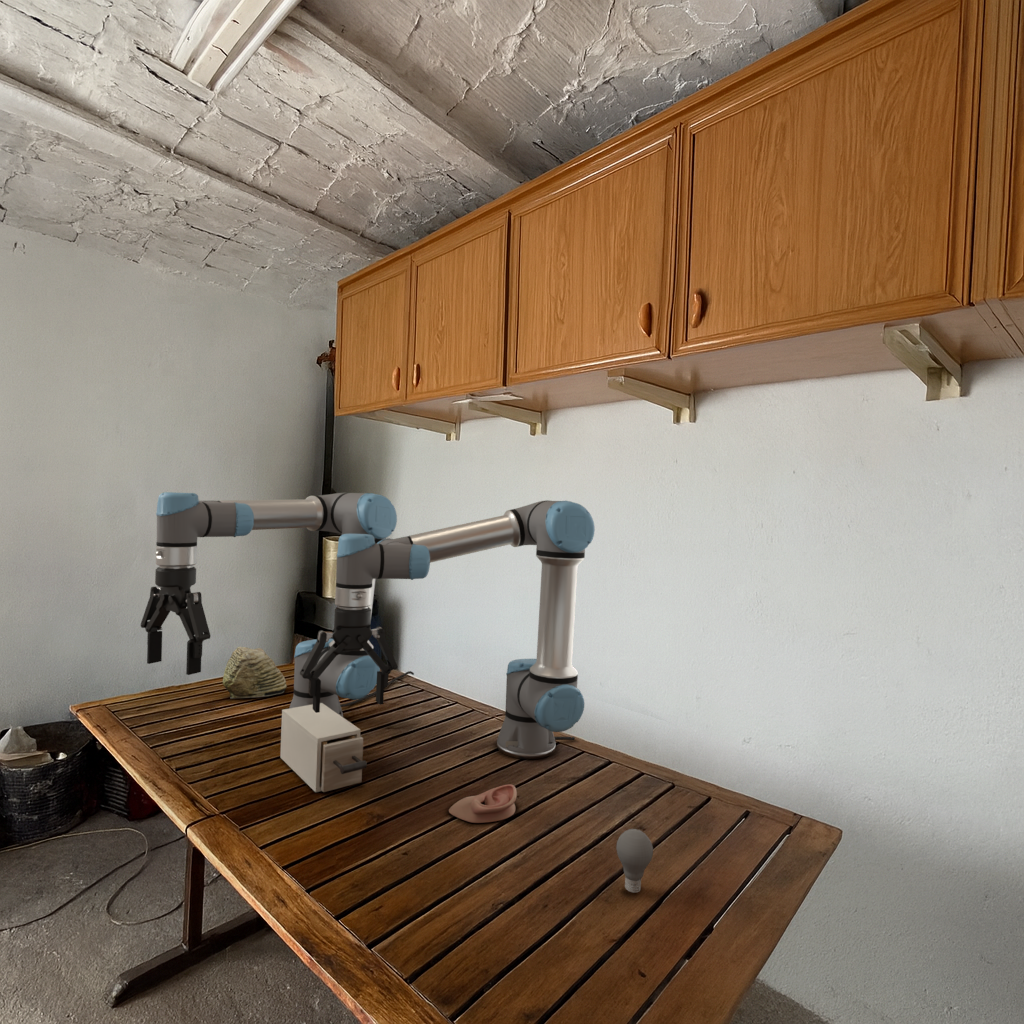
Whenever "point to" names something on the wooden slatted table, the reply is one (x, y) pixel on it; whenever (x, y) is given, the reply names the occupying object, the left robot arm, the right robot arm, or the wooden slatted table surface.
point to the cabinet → (310, 739)
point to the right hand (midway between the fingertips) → (348, 706)
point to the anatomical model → (487, 805)
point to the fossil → (252, 674)
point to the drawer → (341, 762)
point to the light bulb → (634, 857)
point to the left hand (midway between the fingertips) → (173, 667)
